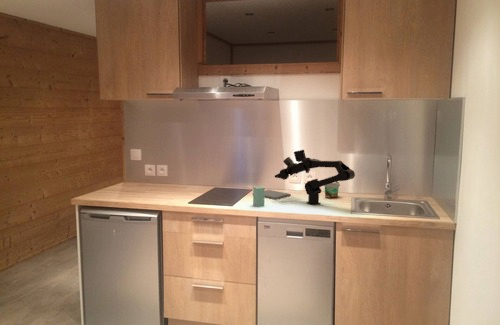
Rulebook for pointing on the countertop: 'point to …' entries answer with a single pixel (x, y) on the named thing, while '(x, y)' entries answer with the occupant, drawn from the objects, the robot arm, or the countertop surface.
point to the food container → (332, 190)
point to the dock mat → (275, 194)
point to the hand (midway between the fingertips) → (277, 174)
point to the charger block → (258, 196)
